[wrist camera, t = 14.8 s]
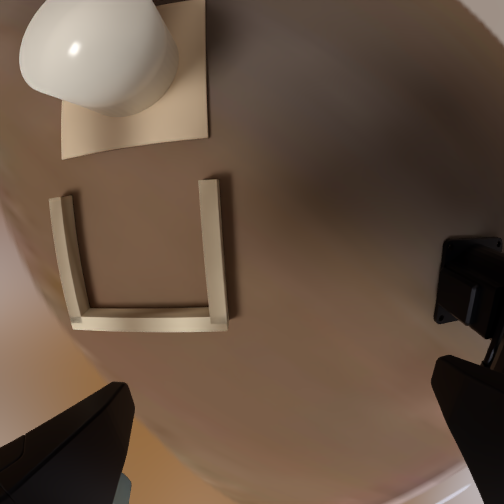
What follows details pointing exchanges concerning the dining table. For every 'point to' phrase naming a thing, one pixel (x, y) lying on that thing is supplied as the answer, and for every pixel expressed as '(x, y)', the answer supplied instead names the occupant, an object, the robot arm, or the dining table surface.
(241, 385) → the dining table surface
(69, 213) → the beige u-shaped bar frame
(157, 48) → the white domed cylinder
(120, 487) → the cup
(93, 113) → the coaster
